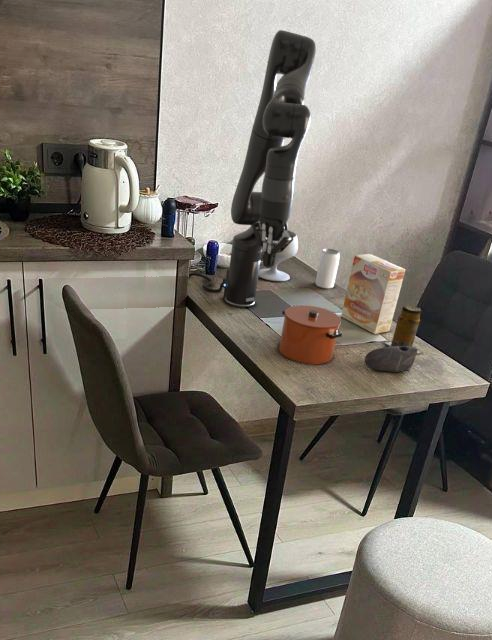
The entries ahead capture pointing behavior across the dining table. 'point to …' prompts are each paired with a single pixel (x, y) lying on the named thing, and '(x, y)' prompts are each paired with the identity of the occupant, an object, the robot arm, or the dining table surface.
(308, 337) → the pot
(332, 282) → the can
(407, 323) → the condiment
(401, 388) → the dining table surface
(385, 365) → the perforated stone tool
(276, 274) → the chalice
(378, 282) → the coffeecake box
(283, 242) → the robot arm
